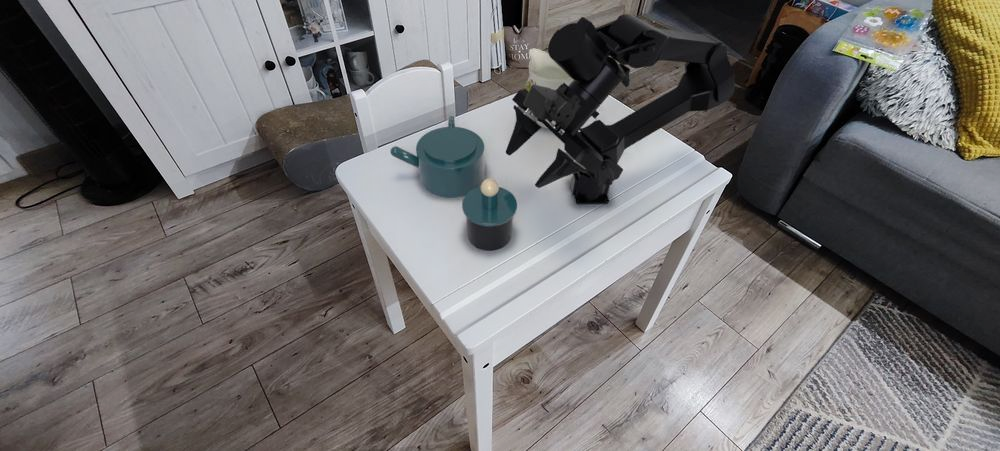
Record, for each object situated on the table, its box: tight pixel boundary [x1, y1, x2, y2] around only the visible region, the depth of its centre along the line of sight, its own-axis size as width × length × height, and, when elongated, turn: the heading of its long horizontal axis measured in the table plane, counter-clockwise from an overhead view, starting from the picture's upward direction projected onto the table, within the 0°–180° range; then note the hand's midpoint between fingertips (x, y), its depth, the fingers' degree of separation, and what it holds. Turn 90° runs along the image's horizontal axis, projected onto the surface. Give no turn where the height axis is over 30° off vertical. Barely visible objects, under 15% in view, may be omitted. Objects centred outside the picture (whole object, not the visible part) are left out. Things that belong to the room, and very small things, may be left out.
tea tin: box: [465, 216, 514, 252], centre depth 79 cm, size 8×8×7 cm
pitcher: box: [525, 47, 574, 129], centre depth 100 cm, size 11×18×14 cm, turn 32°
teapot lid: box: [461, 177, 518, 226], centre depth 75 cm, size 9×9×6 cm
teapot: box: [389, 115, 485, 198], centre depth 91 cm, size 18×17×8 cm
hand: (521, 169), depth 75 cm, fingers open, 9 cm apart
